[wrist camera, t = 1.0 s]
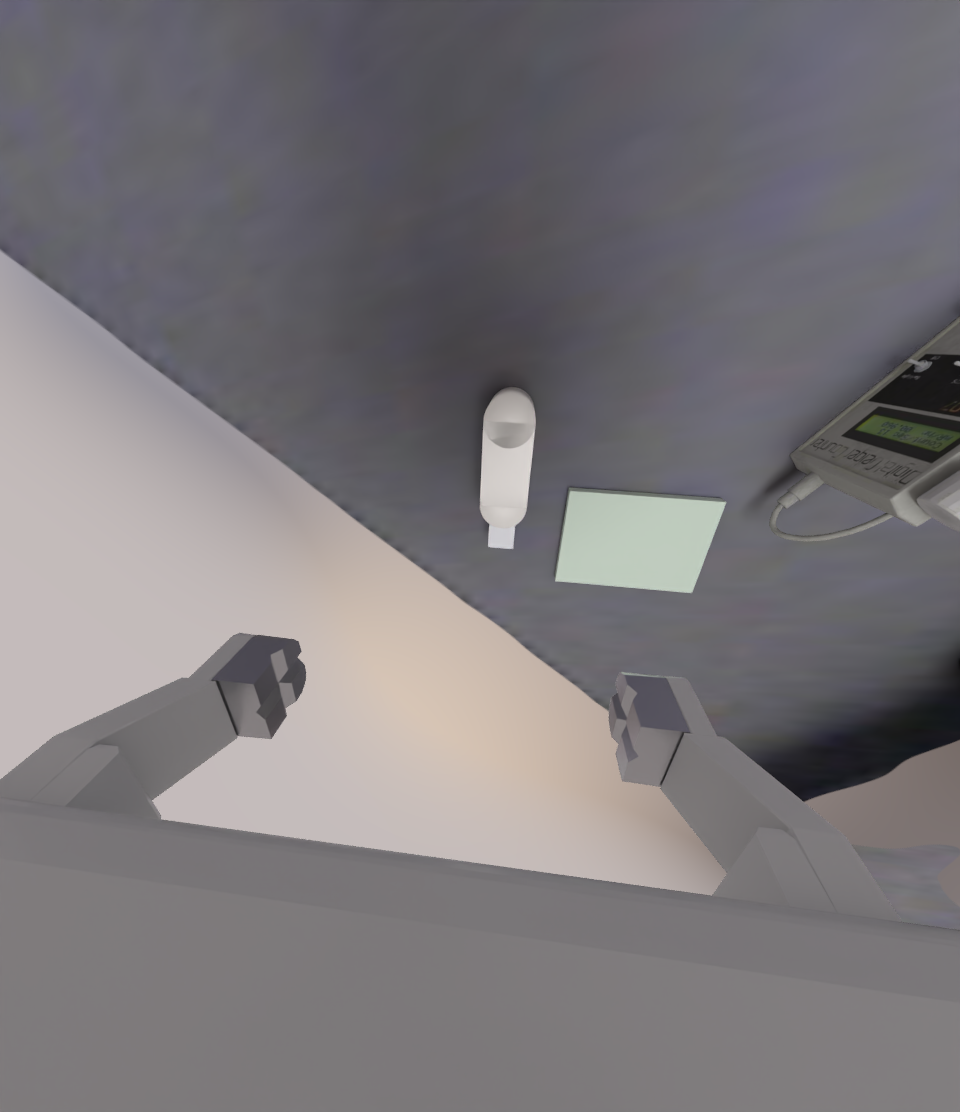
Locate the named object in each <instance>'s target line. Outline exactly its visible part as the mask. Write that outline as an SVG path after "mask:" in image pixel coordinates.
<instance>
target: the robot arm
mask: <svg viewBox="0 0 960 1112" xmlns="http://www.w3.org/2000/svg"><path fill="white" fill-rule="evenodd" d="M300 653H301V648H300V645H299V642H298V641H296V640H294V639H287V638H279V637H271V636H263V635H251V634H243V633H239V634H236V635H233V636H232V637H231V638H230V639H229V640H228V641H227V642H226V643H225V644H224V645H223V646H222V647H221V648H220V649H218V650H217V652H215V653H214V655H212V656H211V657H210V658H209V659H208V660H207V661H206V662H205V663H204V664H203V665H202V666H201V667H200V668H199V669H198V670H197V671H196V672H194V674H192V675H191V676H190V677H189V678H181V679H178V680H176V681H174V682H172V683H170V684H168V685H165V686H163V687H161V688H159V689H156V690H154V691H152V692H150V693H148V694H145V695H143V696H141V697H139V698H137V699H135V700H132V701H130V702H128V703H126V704H124V705H122V706H119V707H117V708H115V709H113V710H111V711H108V712H106V713H104V714H102V715H99V716H97V717H96V718H93V719H91V720H89V721H86V722H84V723H82V724H80V725H77V726H75V727H73V728H71V729H69V730H67V731H64V732H63V733H60V734H58V735H56V736H54V737H52V738H51V739H50V740H49V741H47V742H46V743H45V744H44V745H42V746H41V747H40V748H39V749H38V750H36V751H35V752H34V753H33V754H31V755H30V756H29V757H28V758H26V759H25V760H24V761H23V762H22V763H20V764H19V765H18V766H17V767H15V768H14V769H13V770H12V771H10V772H9V773H8V774H7V775H5V776H4V777H3V778H2V779H0V1112H960V930H957V929H949V928H942V927H935V926H928V925H920V924H913V923H906V922H902V920H901V919H900V917H899V916H898V914H897V913H896V911H895V910H894V908H893V907H892V905H891V904H890V902H889V901H888V899H887V898H886V896H885V895H884V893H883V892H882V890H881V889H880V887H879V886H878V884H877V883H876V881H875V880H874V878H873V877H872V875H871V874H870V872H869V871H868V869H867V868H866V866H865V865H864V863H863V862H862V860H861V859H860V857H859V856H858V854H857V853H856V851H855V850H854V848H853V847H852V845H851V844H850V842H849V841H848V839H847V838H846V836H845V835H844V834H842V833H841V832H840V831H839V830H837V829H836V828H835V827H834V826H832V825H831V824H830V823H829V822H828V821H826V820H825V819H824V818H823V817H821V816H820V815H819V814H818V813H816V812H815V811H814V810H813V809H811V808H810V807H809V806H808V805H807V804H805V803H804V802H803V801H802V800H801V799H799V798H798V797H797V796H796V795H794V794H793V793H792V792H791V791H790V790H788V789H787V788H786V787H785V786H783V785H782V784H781V783H780V782H778V781H777V780H776V779H775V778H774V777H772V776H771V775H770V774H769V773H767V772H766V771H765V770H764V769H763V768H761V767H760V766H759V765H758V764H756V763H755V762H754V761H753V760H751V759H750V758H749V757H748V756H747V755H745V754H744V753H743V752H742V751H740V750H739V749H738V748H737V747H736V746H734V745H733V744H732V743H731V742H729V741H728V740H727V739H726V738H724V737H717V735H716V733H715V731H714V729H713V727H712V725H711V723H710V721H709V719H708V717H707V715H706V714H705V712H704V710H703V708H702V706H701V704H700V702H699V700H698V698H697V696H696V694H695V692H694V690H693V688H692V686H691V684H690V683H689V681H688V680H687V679H686V678H682V677H671V676H657V675H646V674H635V673H625V672H620V673H619V675H618V676H617V680H616V683H615V684H616V688H617V692H618V693H616V694H615V695H614V696H612V697H611V702H610V706H609V725H610V731H611V736H612V738H613V739H614V740H615V741H616V742H617V743H618V744H619V745H618V748H617V751H616V757H617V761H618V766H619V770H620V774H621V778H622V781H625V782H632V783H638V784H645V785H652V786H659V787H661V788H660V789H661V790H662V791H663V793H664V794H665V795H666V796H667V798H668V799H669V800H670V802H671V803H672V804H673V805H674V807H675V808H676V809H677V810H678V812H679V813H680V814H681V816H682V817H683V818H684V819H685V821H686V822H687V823H688V824H689V826H690V827H691V828H692V829H693V831H694V832H695V833H696V835H697V836H698V837H699V838H700V840H701V841H702V842H703V843H704V845H705V846H706V847H707V848H708V850H709V851H710V852H711V853H712V855H713V856H714V857H715V858H716V860H717V861H718V862H719V864H720V865H721V866H722V867H723V869H724V870H725V871H726V872H727V874H726V876H725V877H724V879H723V880H722V882H721V883H720V885H719V886H718V888H717V889H716V891H715V892H714V894H713V895H712V896H710V895H703V894H696V893H688V892H681V891H674V890H667V889H660V888H652V887H645V886H638V885H630V884H623V883H616V882H609V881H602V880H594V879H587V878H580V877H573V876H565V875H558V874H551V873H544V872H537V871H530V870H522V869H515V868H508V867H500V866H494V865H486V864H479V863H472V862H464V861H458V860H451V859H443V858H436V857H429V856H422V855H414V854H407V853H399V852H393V851H385V850H378V849H371V848H364V847H356V846H349V845H341V844H334V843H326V842H320V841H312V840H305V839H298V838H290V837H284V836H276V835H268V834H262V833H254V832H247V831H240V830H233V829H226V828H218V827H210V826H203V825H196V824H190V823H182V822H175V821H168V820H161V815H160V813H159V811H158V810H157V808H156V807H155V805H154V804H153V802H152V800H153V799H154V798H156V797H157V796H159V794H161V793H163V792H164V791H165V790H167V789H168V788H169V787H171V786H172V785H174V784H175V783H176V782H178V781H179V780H180V779H182V778H183V777H184V776H186V775H187V774H189V773H190V772H191V771H192V770H194V769H195V768H197V767H198V766H200V765H201V764H202V763H204V762H205V761H206V760H208V759H209V758H211V757H212V756H213V755H215V754H216V753H217V752H218V751H220V750H221V749H223V748H224V747H226V746H227V745H228V744H230V743H231V742H232V741H234V740H235V739H236V738H237V736H244V737H255V738H267V739H272V737H273V736H274V734H275V733H276V731H277V730H278V728H279V727H280V725H281V724H282V722H283V721H284V719H285V718H286V716H287V715H286V707H288V706H289V705H291V704H293V703H294V702H296V701H297V699H298V698H299V696H300V694H301V693H302V691H303V687H304V684H305V681H306V670H305V665H304V664H303V663H302V662H301V661H300V660H299V659H298V658H297V657H298V656H299V654H300Z"/></svg>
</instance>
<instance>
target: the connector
mask: <svg viewBox="0 0 960 1112" xmlns="http://www.w3.org/2000/svg"><path fill="white" fill-rule="evenodd" d="M535 425H536V418H535V410H534V404H533V401H532V399H531V397H530V396H529V395H528V393H526V392H525V391H524V390H522V389H520V388H517V387H507V388H504V389H502V390H500V391H499V392H497V393H496V394H495V395H494V397H493V398H492V400H491V402H490V404H489V406H488V407H487V409H486V411H485V414H484V421H483V444H482V468H481V491H480V511H481V514H482V516H483V518H484V519H485V520H486V522H488V523H489V540H488V547H494V548H506V549H513V543H514V532H515V525H517V524H518V523H519V522H520V521H521V520H522V519H523V518H524V516H525V513H526V509H527V499H528V490H529V481H530V471H531V462H532V453H533V443H534V434H535Z"/></svg>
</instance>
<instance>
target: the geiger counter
mask: <svg viewBox="0 0 960 1112" xmlns="http://www.w3.org/2000/svg"><path fill="white" fill-rule="evenodd" d="M790 457H791V459H792V460H793V462H794V464H795V466H796V468H797V469H798V470H800V471H802V472H803V473H805V474H807V475H806V476H805V477H804V478H802V479H801V480H800V481H799V482H797V483H796V484H795V485H793V486H792V487H791V488H789V489H788V492H787V493H786V494H784V495H783V496H782V497H781V498H779V499H778V500H777V502H778V503H779V504H778V505H777V506H776V508H775V509H774V511H773V512H772V515H771V517H770V523H769V526H770V528H771V530H772V531H773V532H774V533H775V534H776V535H777V536H779V537H781V538H784V539H789V540H795V541H819V540H828V539H833V538H838V537H842V536H846V535H850V534H853V533H856V532H859V531H862V530H865V529H868V528H870V527H872V526H875V525H877V524H879V523H881V522H884V521H886V520H888V519H890V518H891V517H893V516H894V517H896V518H898V519H900V520H902V521H905V522H907V523H909V524H911V525H913V526H919V525H921V524H922V523H924V522H925V521H927V520H928V519H930V518H932V517H933V518H934V519H936V520H937V521H939V522H940V523H942V524H944V525H946V526H947V527H949V528H951V529H953V530H956V531H958V532H960V316H959V317H958V318H957V319H956V320H954V321H953V322H952V323H951V324H950V325H948V326H947V327H946V328H945V329H943V330H942V331H941V332H940V333H939V334H937V335H936V336H935V337H934V338H932V339H931V340H930V341H929V342H927V343H926V344H925V345H924V346H923V347H921V348H920V349H919V350H918V351H916V352H915V353H914V354H913V355H912V356H910V357H909V358H908V359H907V360H905V361H904V362H903V363H902V364H900V365H899V366H898V367H897V368H896V369H894V370H893V371H892V372H891V373H889V374H888V375H887V376H886V377H884V378H883V379H882V380H881V381H880V382H878V383H877V384H876V385H875V386H873V387H872V388H871V389H870V390H869V391H867V392H866V393H865V394H864V395H862V396H861V397H860V398H859V399H857V400H856V401H855V402H854V403H853V404H851V405H850V406H849V407H848V408H846V409H845V410H844V411H843V412H842V413H840V414H839V415H838V416H837V417H835V418H834V419H833V420H832V421H830V422H829V423H828V424H827V425H826V426H824V427H823V428H822V429H821V430H819V431H818V432H817V433H816V434H815V435H813V436H812V437H811V438H810V439H808V440H807V441H806V442H805V443H803V444H802V445H801V446H800V447H799V448H797V449H796V450H795V451H794V452H792V453H791V454H790ZM823 483H825V484H827V485H829V486H831V487H833V488H835V489H838V490H840V491H842V492H844V493H846V494H848V495H850V496H852V497H854V498H856V499H858V500H861V501H863V502H865V503H867V504H869V505H871V506H873V507H875V508H877V509H879V510H882V511H884V512H886V513H885V514H883V515H881V516H879V517H877V518H875V519H873V520H871V521H868V522H866V523H864V524H861V525H858V526H855V527H852V528H850V529H846V530H842V531H838V532H834V533H829V534H824V535H814V536H799V535H791V534H786V533H783V532H781V531H780V530H779V529H778V528H777V526H776V519H777V516H778V513H779V512H780V511H781V509H782V508H783V507H784V508H786V509H787V508H789V507H790V506H791V505H793V504H794V503H795V502H797V501H798V500H800V501H801V500H802V499H803V498H805V497H806V496H807V495H809V494H810V493H811V492H813V491H814V490H815V489H817V488H818V487H819V486H821V485H822V484H823Z"/></svg>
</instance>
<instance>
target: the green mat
mask: <svg viewBox="0 0 960 1112" xmlns="http://www.w3.org/2000/svg"><path fill="white" fill-rule="evenodd" d="M725 504H726V502H725V501H724V500H723V499H722V498H711V497H697V496H683V495H669V494H655V493H641V492H627V491H613V490H599V489H585V488H571V487H569V490H568V496H567V502H566V509H565V515H564V521H563V527H562V533H561V540H560V546H559V552H558V558H557V565H556V571H555V581H562V582H573V583H584V584H596V585H607V586H618V587H630V588H641V589H652V590H664V591H675V592H686V593H692V591H693V589H694V586H695V583H696V581H697V578H698V575H699V573H700V570H701V568H702V565H703V562H704V560H705V557H706V554H707V552H708V549H709V547H710V544H711V541H712V539H713V536H714V533H715V531H716V528H717V525H718V523H719V520H720V518H721V515H722V512H723V510H724V507H725Z"/></svg>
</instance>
